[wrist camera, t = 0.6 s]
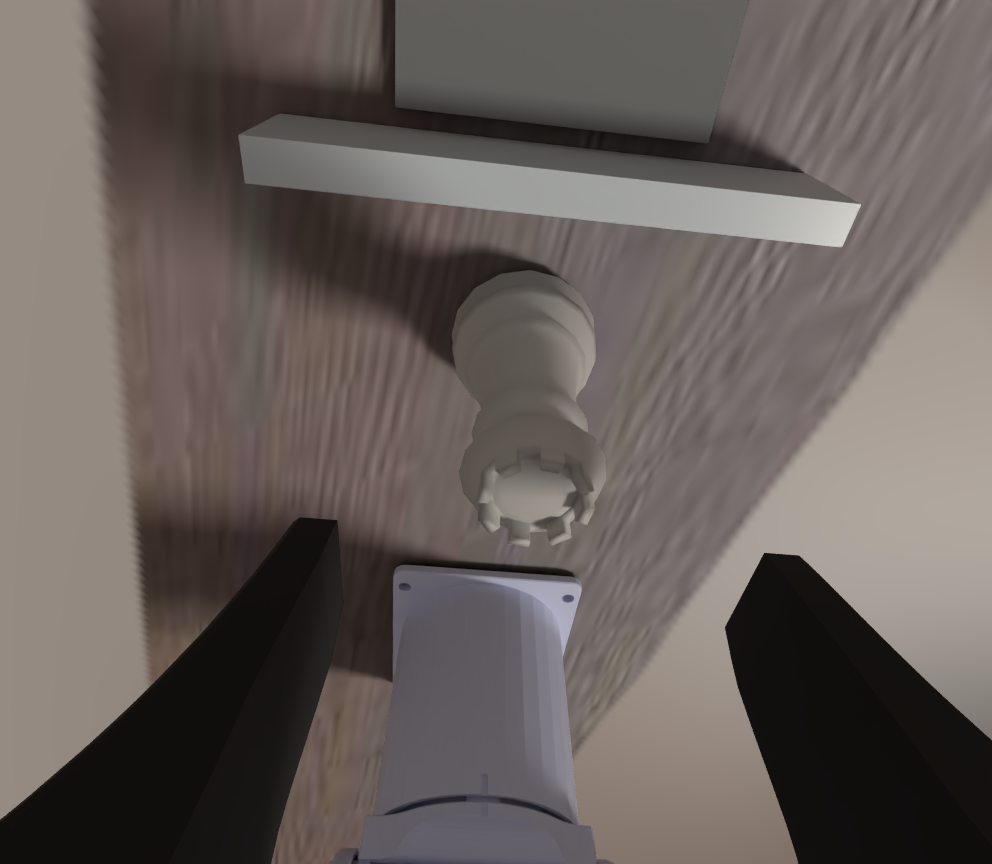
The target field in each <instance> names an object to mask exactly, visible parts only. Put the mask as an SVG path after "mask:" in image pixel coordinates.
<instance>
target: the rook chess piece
mask: <svg viewBox="0 0 992 864" xmlns="http://www.w3.org/2000/svg"><path fill="white" fill-rule="evenodd" d="M452 341H453V346H452V352H453V357H454V362H455V367H456V372H457V375H458V377H459V379H460V380H461V382H462V383H463V385H464V386H465V387H466V389H467V390H468V392H469V393H470V394H471V396H472V397H473V398H474V399H475V400H477V401H478V402H479V404H480V406H481V411H480V412H479V413H478V414H477V417H476V420H475V423H474V427H473V430H472V436H473V442H472V443H471V445H470V446H469V447H468V448H467V449H466V450H465V454H464V457H463V460H462V464H461V467H460V470H459V474H460V479H461V483H462V488H463V492H464V494H465V495H466V497H467V498H468V499H469V500H470V502H471V503H472V504H473V505H474V507H475V508H476V509H477V510H478V511H479V514H478V520H479V521H480V522H481V524H482V525H483V526H484V527H485V528H486V530H487V531H488V532H489V533H490V534H491V533H492V532H494V531H495V530H497V529H499V528H500V525H502V526H504V527H506V528H507V529H508V544H513V545H518V546H523V547H528V548H529V546H530V539H531V538H530V532H541V531H547V533H548V538H549V541H550V543H551V546H552V545H555V544H557V543H560V542H562V541H565V540H567V539H570V538H572V537H571V530H570V522H571V521H572V520H574V519H575V521H577V522H580V523H583V524H585V525H587V524H588V522H589V520H590V518H591V516H592V514H593V512H594V510H595V506H594V502H595V501H596V499H597V497H598V495H599V493H600V491H601V489H602V487H603V485H604V483H605V481H606V457H605V455H604V454H603V452H602V450H601V449H600V447H599V445H598V444H597V442H596V440H595V439H594V437H593V436H592V435H590V434H589V433H588V427H587V419H586V418H585V416H584V414H583V412H582V411H581V409H580V407H579V406H578V404H577V403H576V396H577V395H578V394H579V391H580V390H581V389H582V388H583V387H584V386H585V384H586V382H587V380H588V377H589V375H590V372H591V370H592V368H593V365H594V363H595V359H596V341H595V331H594V318H593V316H592V314H591V312H590V310H589V308H588V307H587V305H586V303H585V301H584V299H583V297H582V295H581V294H580V293H578V292H577V291H576V290H575V289H573V288H572V287H571V286H569V285H568V284H567V283H566V282H564V281H563V280H562V279H560V278H559V277H555V276H551V275H547V274H544V273H540V272H536V271H532V270H527V271H519V272H511V273H503V274H499V275H497V276H496V277H494V278H492V279H490V280H488V281H487V282H485V283H483V284H481V285H479V286H478V287H476V288H474V290H473V291H472V292H471V294H470V295H469V296H468V297H467V299H466V300H465V301H464V302H463V304H462V305H461V306H460V308H459V309H458V311H457V315H456V319H455V323H454V327H453V331H452Z"/></svg>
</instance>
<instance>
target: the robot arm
mask: <svg viewBox="0 0 992 864" xmlns="http://www.w3.org/2000/svg"><path fill="white" fill-rule="evenodd" d="M405 583H407V584H405ZM581 591H582V588H581V582H580V580H579V579H577V578H575V577H568V576H554V575H541V574H527V573H513V572H499V571H486V570H472V569H458V568H444V567H430V566H417V565H401V566H398V567H397V568H396V569H395V571H394V575H393V689H392V695H391V702H390V708H389V715H388V721H387V727H386V734H385V740H384V747H383V753H382V760H381V766H380V773H379V779H378V786H377V792H376V798H375V805H374V811H373V815H368V816H366V817H365V819H364V825H363V832H362V838H361V844H360V850H359V852H358V849H357V848H342V849H340V850H339V851H338V852H337V853H336V855H335V857H334V859H333V860H331V861H330V862H329V863H328V864H613V862H610V861H608V860H603V859H596V852H595V843H594V835H593V828H592V827H591V826H582V825H579V823H578V813H577V802H576V792H575V783H574V771H573V761H572V750H571V740H570V730H569V719H568V709H567V699H566V688H565V678H564V667H563V654H564V651H565V647H566V644H567V640H568V637H569V633H570V630H571V626H572V623H573V619H574V616H575V612H576V609H577V605H578V602H579V598H580V595H581ZM342 605H343V591H342V577H341V563H340V549H339V536H338V522H337V520H326V519H313V518H298V519H297V520H296V521H294V522H293V523H292V525H291V526H290V527H289V529H288V530H287V531H286V533H285V534H284V535H283V537H282V538H281V539H280V541H279V542H278V543H277V545H276V546H275V547H274V548H273V550H272V551H271V552H270V554H269V555H268V556H267V557H266V559H265V560H264V561H263V562H262V564H261V565H260V566H259V567H258V569H257V570H256V571H255V572H254V573H253V575H252V576H251V577H250V578H249V579H248V581H247V582H246V583H245V584H244V586H243V587H242V588H241V589H240V590H239V591H238V592H237V594H236V595H235V596H234V597H233V598H232V599H231V601H230V602H229V603H228V604H227V605H226V606H225V607H224V609H223V610H222V611H221V612H220V613H219V614H218V615H217V617H216V618H215V619H214V620H213V621H212V622H211V623H210V625H209V626H208V627H207V628H206V629H205V630H204V631H203V632H202V633H201V634H200V636H199V637H198V638H197V639H196V640H195V641H194V642H193V643H192V644H191V645H190V646H189V647H188V648H187V649H186V650H185V651H184V652H183V653H182V654H181V655H180V656H179V657H178V658H177V660H176V661H175V662H174V663H173V664H172V665H171V666H170V667H169V668H168V669H167V670H166V671H165V672H164V673H163V674H162V675H161V676H160V677H159V678H158V679H157V680H156V681H155V682H154V683H153V684H152V685H151V686H150V687H149V688H148V689H147V690H146V691H145V692H144V693H143V694H142V695H141V696H140V697H139V698H138V699H137V700H136V701H135V702H134V703H133V704H132V705H131V706H130V707H129V708H128V709H127V710H126V711H125V712H123V713H122V714H121V715H120V716H119V717H118V718H117V719H116V720H115V721H114V722H113V723H112V724H111V725H110V726H108V727H107V728H106V729H105V730H104V731H103V732H102V733H101V734H100V735H99V736H98V737H96V738H95V739H94V740H93V741H92V742H91V743H90V744H89V745H88V746H86V747H85V748H84V749H83V750H82V751H81V752H80V753H79V754H77V755H76V756H75V757H74V758H73V759H72V760H70V761H69V763H67V764H66V765H65V766H63V767H62V768H61V769H60V770H59V771H58V772H57V773H55V774H54V775H53V776H52V777H51V778H50V779H48V780H47V781H46V782H45V783H44V784H43V785H41V786H40V787H39V788H38V789H37V790H36V791H35V792H33V793H32V794H31V795H30V796H29V797H27V798H26V799H25V800H24V801H23V802H21V803H20V804H19V805H18V806H17V807H16V808H14V809H13V810H12V811H11V812H9V813H8V814H7V815H6V816H4V817H3V818H2V819H1V820H0V864H271V861H272V857H273V853H274V848H275V844H276V840H277V835H278V831H279V828H280V824H281V820H282V817H283V813H284V810H285V806H286V803H287V799H288V796H289V793H290V790H291V786H292V783H293V780H294V777H295V774H296V771H297V768H298V764H299V761H300V758H301V755H302V752H303V749H304V746H305V742H306V739H307V736H308V733H309V730H310V727H311V724H312V720H313V717H314V714H315V711H316V708H317V705H318V702H319V698H320V695H321V692H322V689H323V686H324V682H325V679H326V676H327V673H328V670H329V666H330V663H331V659H332V655H333V650H334V645H335V640H336V636H337V631H338V625H339V620H340V615H341V610H342ZM725 630H726V635H727V640H728V645H729V650H730V655H731V659H732V664H733V668H734V673H735V676H736V681H737V685H738V689H739V692H740V695H741V697H742V700H743V703H744V706H745V709H746V712H747V715H748V718H749V721H750V724H751V726H752V729H753V732H754V735H755V738H756V741H757V743H758V746H759V749H760V752H761V755H762V757H763V760H764V763H765V765H766V768H767V771H768V774H769V777H770V780H771V782H772V785H773V788H774V791H775V794H776V797H777V799H778V802H779V805H780V808H781V810H782V813H783V816H784V819H785V822H786V824H787V828H788V831H789V834H790V837H791V840H792V844H793V847H794V850H795V853H796V856H797V860H798V864H992V740H991V739H990V738H989V737H987V736H986V735H985V734H984V733H983V732H982V731H981V730H980V729H979V728H977V727H976V726H975V725H974V724H973V723H972V722H971V721H970V720H969V719H967V718H966V717H965V716H964V715H963V714H962V713H961V712H960V711H959V710H957V709H956V708H955V707H954V706H953V705H952V704H951V703H950V702H949V701H948V700H946V699H945V698H944V697H943V696H942V695H941V694H940V693H939V692H938V691H937V690H936V689H935V688H934V687H933V686H931V685H930V684H929V683H928V682H927V681H926V680H925V679H924V678H923V677H922V676H921V675H920V674H919V673H918V672H917V671H916V670H915V669H914V668H913V667H912V666H911V665H910V664H909V663H907V662H906V661H905V660H904V659H903V658H902V657H901V656H900V655H899V654H898V653H897V652H896V651H895V650H894V649H893V648H892V647H891V646H890V645H889V644H888V643H887V642H886V641H885V640H884V639H883V638H882V637H881V636H880V635H879V634H878V633H877V632H876V631H875V630H874V629H873V628H872V627H871V626H870V625H869V624H868V623H867V622H866V621H865V620H864V619H863V618H862V617H861V616H860V615H859V614H858V613H857V612H856V611H855V610H854V609H853V608H852V607H851V606H850V605H849V604H848V603H847V602H846V601H845V600H844V599H843V598H842V597H841V596H840V595H839V594H838V593H837V592H836V591H835V590H834V589H833V588H832V587H831V586H830V585H829V584H828V583H827V582H826V581H825V580H824V579H823V578H822V577H821V576H820V575H819V574H818V573H817V572H816V571H815V570H814V569H813V568H812V567H811V566H810V565H809V564H807V563H806V562H805V561H804V560H803V559H802V558H801V557H800V556H798V555H783V554H771V553H764V555H763V557H762V558H761V560H760V562H759V564H758V566H757V568H756V570H755V572H754V574H753V575H752V577H751V579H750V581H749V583H748V585H747V587H746V589H745V591H744V593H743V594H742V596H741V598H740V600H739V602H738V604H737V606H736V608H735V610H734V611H733V613H732V615H731V617H730V619H729V621H728V623H727V625H726V626H725Z"/></svg>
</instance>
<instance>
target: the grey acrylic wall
mask: <svg viewBox="0 0 992 864" xmlns="http://www.w3.org/2000/svg"><path fill="white" fill-rule="evenodd" d="M238 136H239V143H240V151H241V158H242V165H243V173H244V180H245V183H246V184H255V185H265V186H274V187H283V188H293V189H302V190H311V191H321V192H330V193H339V194H349V195H358V196H367V197H377V198H386V199H395V200H405V201H414V202H423V203H433V204H442V205H451V206H461V207H470V208H479V209H489V210H498V211H507V212H517V213H526V214H535V215H545V216H554V217H563V218H572V219H582V220H591V221H600V222H610V223H619V224H628V225H638V226H647V227H656V228H666V229H675V230H684V231H694V232H703V233H712V234H722V235H731V236H740V237H750V238H759V239H768V240H778V241H787V242H796V243H806V244H815V245H824V246H834V247H842V246H843V244H844V242H845V239H846V237H847V235H848V233H849V231H850V228H851V226H852V224H853V222H854V219H855V217H856V215H857V213H858V210H859V208H860V206H861V204H860V203H858V202H856V201H854V200H853V199H851V198H849V197H847V196H846V195H844V194H842V193H840V192H838V191H837V190H835V189H833V188H831V187H830V186H828V185H826V184H824V183H822V182H821V181H819V180H817V179H815V178H814V177H812V176H810V175H808V174H806V173H798V172H789V171H780V170H771V169H763V168H754V167H745V166H736V165H728V164H719V163H710V162H701V161H692V160H684V159H675V158H666V157H657V156H649V155H640V154H631V153H622V152H614V151H605V150H596V149H587V148H579V147H570V146H561V145H552V144H544V143H535V142H526V141H517V140H509V139H500V138H491V137H482V136H473V135H465V134H456V133H447V132H438V131H430V130H421V129H412V128H403V127H395V126H386V125H377V124H368V123H360V122H351V121H342V120H333V119H325V118H316V117H307V116H298V115H289V114H281V113H280V114H278V115H276V116H274V117H272V118H270V119H268V120H266V121H264V122H262V123H260V124H258V125H256V126H254V127H252V128H250V129H249V130H247V131H245V132H243V133H241V134H239V135H238Z"/></svg>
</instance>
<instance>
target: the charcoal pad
mask: <svg viewBox="0 0 992 864" xmlns="http://www.w3.org/2000/svg"><path fill="white" fill-rule="evenodd" d="M748 2H749V0H395V107H396V108H405V109H413V110H422V111H431V112H439V113H448V114H456V115H465V116H474V117H482V118H491V119H500V120H508V121H517V122H525V123H534V124H543V125H551V126H560V127H569V128H577V129H586V130H594V131H603V132H612V133H620V134H629V135H638V136H646V137H655V138H663V139H672V140H681V141H689V142H698V143H707V144H708V142H709V139H710V135H711V132H712V128H713V125H714V121H715V118H716V114H717V111H718V107H719V104H720V100H721V97H722V93H723V90H724V86H725V83H726V79H727V76H728V72H729V69H730V65H731V62H732V58H733V55H734V51H735V48H736V44H737V41H738V37H739V34H740V30H741V27H742V23H743V20H744V16H745V13H746V9H747V6H748Z"/></svg>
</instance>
